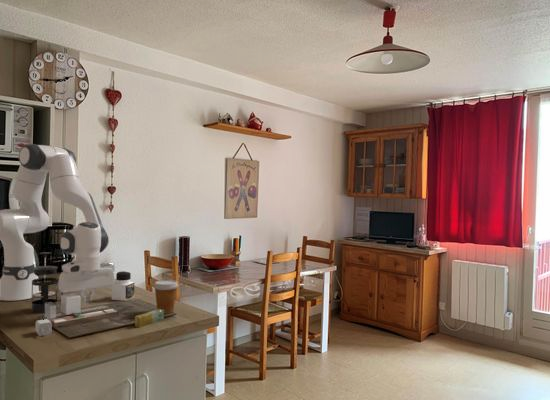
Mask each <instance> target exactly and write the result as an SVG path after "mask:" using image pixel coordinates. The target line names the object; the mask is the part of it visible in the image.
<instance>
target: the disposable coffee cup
mask: <svg viewBox="0 0 550 400" xmlns="http://www.w3.org/2000/svg"><path fill="white" fill-rule="evenodd" d="M153 287H154V291H155V292H154V293H155V302H156V310H157V309H164V315H166V314H167V313H168V314H172V313H173V312H174V309H175V303H176V296H177V291H178V290H177V288H178V287H179V284H178V281H177V280H173V279H162V280H157V281H155V282H154V284H153ZM168 314H167V315H168Z"/></svg>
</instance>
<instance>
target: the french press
mask: <svg viewBox="0 0 550 400" xmlns="http://www.w3.org/2000/svg"><path fill="white" fill-rule="evenodd" d="M51 254H52V252H48V251H47V252H46V251H43V252H40V253H39V255H43V258H44V265H40V266H36V267H34V268H32V270H34V271H35V272H34V274H35V275H37V276H44V277H41V278H40V277H38V279H34V280H32V298H31V305H30V306H31V307H30V308H31V309H30V312H31V313H33V314H45V303H47V302H52V303H53V304H55V305H56V311H57V310H58V302H61V299H58V282H59V278H57V277H47V276H49V275H55V274H57V270H58V269H59V267H58V266H56V265H47V264H46V263H47V257H48V255H51ZM33 285H35V286H38V287H39V286H40V287H41V288H40V291H41V292H38V293H34V294H33ZM51 285H56V286H55V287H56V288H55V289H56V290H55V291H51V290H50V291H49V286H51ZM61 295H64V293H62V292H61V291H60V296H61ZM54 296H55V298H52V297H54ZM33 298H37V299H36V300H33Z"/></svg>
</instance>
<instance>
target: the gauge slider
mask: <svg viewBox="0 0 550 400" xmlns="http://www.w3.org/2000/svg"><path fill="white" fill-rule="evenodd" d="M81 298H82V295H79V294H77V293H75V292H74V293H69V294H63V295H61V294H60V300H61V301H60V312H63V313H64V314H66V315H68V314H72V315H74V316H75V317H79V315H78V314H76V313H80V311H81V309H82V308H81V306H82V305H81V303H82V302H81V301H82V299H81Z"/></svg>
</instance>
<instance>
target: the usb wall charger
mask: <svg viewBox="0 0 550 400" xmlns="http://www.w3.org/2000/svg"><path fill="white" fill-rule="evenodd" d="M34 325H35V326H34V327H35V332H36V334H37V335H38V336H40V337H41V336H45V335H51V334H52V331H53V329H52V328H53V326H52V323H51V322H50V321H49V320H48V319H44V320H43V319H37V320H36V321H35V324H34Z"/></svg>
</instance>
